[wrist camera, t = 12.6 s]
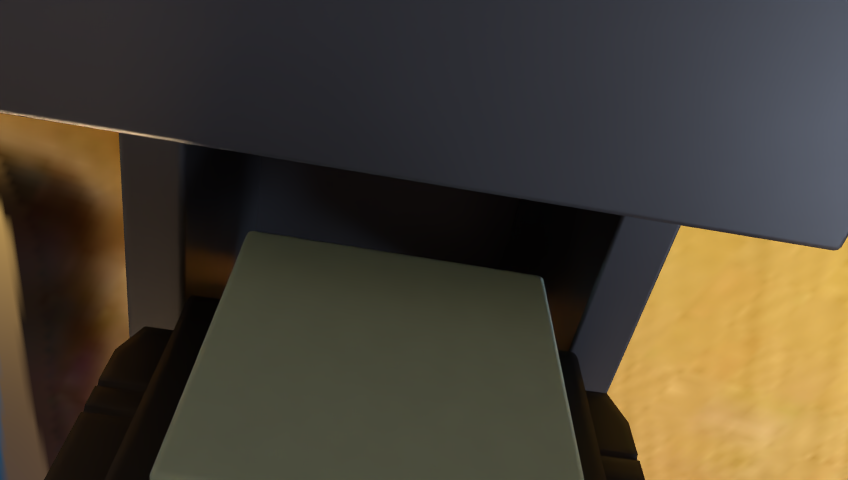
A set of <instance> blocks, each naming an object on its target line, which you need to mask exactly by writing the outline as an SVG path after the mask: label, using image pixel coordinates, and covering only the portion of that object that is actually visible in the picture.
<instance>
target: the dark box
mask: <svg viewBox="0 0 848 480" xmlns="http://www.w3.org/2000/svg"><path fill="white" fill-rule="evenodd" d="M0 113H5V114H11V115H17V116H23V117H29V118H35V119H41V120H47V121H53V122H59V123H65V124H71V125H77V126H83V127H89V128H95V129H101V130H107V131H114V132H120V133H126V134H132V135H138V136H144V137H150V138H156V139H162V140H168V141H174V142H180V143H186V144H192V145H198V146H204V147H210V148H217V149H223V150H229V151H235V152H241V153H247V154H253V155H259V156H265V157H271V158H277V159H283V160H289V161H295V162H301V163H307V164H313V165H319V166H326V167H332V168H338V169H344V170H350V171H356V172H362V173H368V174H374V175H380V176H386V177H392V178H398V179H404V180H410V181H416V182H422V183H428V184H435V185H441V186H447V187H453V188H459V189H465V190H471V191H477V192H483V193H489V194H495V195H501V196H507V197H513V198H519V199H525V200H531V201H537V202H544V203H550V204H556V205H562V206H568V207H574V208H580V209H586V210H592V211H598V212H604V213H610V214H616V215H622V216H628V217H634V218H640V219H646V220H653V221H659V222H665V223H671V224H677V225H683V226H689V227H695V228H701V229H707V230H713V231H719V232H725V233H731V234H737V235H743V236H749V237H755V238H762V239H768V240H774V241H780V242H786V243H792V244H798V245H804V246H810V247H816V248H822V249H828V250H838V249H839V248H841V247H842V245H843V243H844V242H845V240H846V238H847V237H848V0H0Z"/></svg>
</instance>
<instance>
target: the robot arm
mask: <svg viewBox="0 0 848 480" xmlns="http://www.w3.org/2000/svg"><path fill="white" fill-rule="evenodd" d="M219 302H220V299H216V298H209V297H202V296H196V295H191V296H190V297H189V299H188V300H187V302H186V304H185V306H184V309H183V311H182V313H181V315H180V317H179V319H178V322H177V324H176V326H175V328H174V330H169V329H162V328H155V327H148V326H144V327H143V328H142V329H141V330H139V331H138V332H137V333H135V334H134V335H133V336H132V337H130V338H129V339H128V340H127V341H125V342H124V343H123V344H122V345H120V346H119V347H118V348H117V349H115V351H114V353H113V354H112V356H111V358H110V360H109V362H108V364H107V365H106V367H105V369H104V371H103V373H102V375H101V376H100V378H99V382H98V385H97V386H95V387H94V389H93V391H92V393H91V395H90V397H89V398H88V400H87V402H86V404H85V408H84V411H83V412H81V413H80V415H79V417H78V419H77V420H76V422H75V424H74V426H73V428H72V430H71V431H70V433H69V435H68V437H67V439H66V441H65V442H64V444H63V446H62V448H61V450H60V452H59V453H58V455H57V457H56V459H55V461H54V463H53V464H52V466H51V468H50V470H49V472H48V474H47V475H46V477H45V479H44V480H150V473H151V470H152V468H153V465H154V463H155V460H156V458H157V455H158V453H159V450H160V448H161V445H162V443H163V440H164V438H165V435H166V433H167V431H168V428H169V426H170V423H171V421H172V418H173V416H174V413H175V411H176V408H177V406H178V403H179V401H180V398H181V396H182V393H183V391H184V388H185V386H186V383H187V381H188V379H189V376H190V374H191V371H192V369H193V366H194V364H195V361H196V359H197V356H198V354H199V351H200V349H201V346H202V344H203V341H204V339H205V336H206V334H207V331H208V329H209V327H210V324H211V322H212V319H213V317H214V314H215V312H216V309H217V307H218V304H219ZM558 354H559V359H560V364H561V369H562V374H563V379H564V384H565V388H566V393H567V398H568V403H569V408H570V413H571V418H572V423H573V428H574V432H575V437H576V442H577V447H578V452H579V457H580V462H581V467H582V471H583V476H584V480H645V478H644V475H643V471H642V468H641V464H640V461H637V455H638V454H637V451H636V447H635V444H634V440H633V437H632V433H631V430H630V426H629V423H628V421H627V420H626V419H625V417H624V416H623V415H622V413H621V412H620V411H619V409H618V408H617V407H616V405H615V404H614V403H613V401H612V400H611V399H610V397H609V396H608V395H607V393H601V392H595V391H588V390H585V387H584V383H583V378H582V374H581V370H580V366H579V361H578V358H577V356H576V354H575V353H574V352H569V351H562V350H558Z"/></svg>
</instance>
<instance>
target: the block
mask: <svg viewBox="0 0 848 480" xmlns="http://www.w3.org/2000/svg"><path fill="white" fill-rule="evenodd" d="M150 480H584V476H583V471H582V467H581V462H580V457H579V452H578V447H577V442H576V437H575V432H574V428H573V423H572V418H571V413H570V408H569V403H568V398H567V393H566V388H565V384H564V379H563V374H562V369H561V364H560V359H559V354H558V349H557V345H556V340H555V335H554V330H553V325H552V320H551V315H550V310H549V305H548V301H547V296H546V291H545V286H544V281H543V278H542V277H540V276H538V275H532V274H526V273H519V272H513V271H507V270H500V269H494V268H488V267H481V266H475V265H468V264H462V263H456V262H449V261H443V260H437V259H430V258H424V257H418V256H411V255H405V254H398V253H392V252H386V251H379V250H373V249H367V248H360V247H354V246H347V245H341V244H335V243H328V242H322V241H316V240H309V239H303V238H297V237H290V236H284V235H277V234H271V233H265V232H258V231H250V232H248V234H247V235H246V237H245V240H244V242H243V245H242V247H241V250H240V252H239V255H238V257H237V260H236V262H235V265H234V267H233V270H232V272H231V275H230V277H229V280H228V282H227V284H226V287H225V289H224V292H223V294H222V297H221V299H220V302H219V304H218V307H217V309H216V312H215V314H214V317H213V319H212V322H211V324H210V327H209V329H208V331H207V334H206V336H205V339H204V341H203V344H202V346H201V349H200V351H199V354H198V356H197V359H196V361H195V364H194V366H193V369H192V371H191V374H190V376H189V379H188V381H187V383H186V386H185V388H184V391H183V393H182V396H181V398H180V401H179V403H178V406H177V408H176V411H175V413H174V416H173V418H172V421H171V423H170V426H169V428H168V431H167V433H166V435H165V438H164V440H163V443H162V445H161V448H160V450H159V453H158V455H157V458H156V460H155V463H154V465H153V468H152V470H151V473H150Z"/></svg>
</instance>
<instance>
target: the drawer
mask: <svg viewBox="0 0 848 480" xmlns="http://www.w3.org/2000/svg"><path fill="white" fill-rule="evenodd" d="M119 145H120V164H121V183H122V202H123V221H124V240H125V259H126V278H127V297H128V316H129V335H130V337H132V336H133V335H134V334H135V333H137V332H138V331H139V330H141V329H142V328H143V327H144V326H148V327H155V328H162V329H169V330H174V328H175V326H176V324H177V322H178V319H179V317H180V315H181V313H182V311H183V309H184V306H185V304H186V302H187V300H188V299H189V297H190V296H191V295H196V296H202V297H209V298H216V299H221V297H222V294H223V292H224V289H225V287H226V284H227V282H228V280H229V277H230V275H231V272H232V270H233V267H234V265H235V262H236V260H237V257H238V255H239V252H240V250H241V247H242V245H243V242H244V240H245V237H246V235H247V234H248V232H250V231H258V232H265V233H271V234H277V235H284V236H290V237H297V238H303V239H309V240H316V241H322V242H328V243H335V244H341V245H347V246H354V247H360V248H367V249H373V250H379V251H386V252H392V253H398V254H405V255H411V256H418V257H424V258H430V259H437V260H443V261H449V262H456V263H462V264H468V265H475V266H481V267H488V268H494V269H500V270H507V271H513V272H519V273H526V274H532V275H538V276H540V277H542V278H543V281H544V286H545V291H546V296H547V301H548V305H549V310H550V315H551V320H552V325H553V330H554V335H555V340H556V345H557V349H558V350H562V351H569V352H574V353H575V354H576V356H577V358H578V361H579V366H580V370H581V374H582V378H583V383H584V387H585V390H588V391H595V392H601V393H607V391H608V389H609V387H610V385H611V382H612V380H613V378H614V375H615V373H616V371H617V369H618V366H619V364H620V362H621V360H622V357H623V355H624V353H625V350H626V348H627V346H628V344H629V341H630V339H631V337H632V335H633V332H634V330H635V328H636V326H637V323H638V321H639V319H640V316H641V314H642V312H643V310H644V307H645V305H646V303H647V301H648V298H649V296H650V294H651V291H652V289H653V287H654V285H655V282H656V280H657V278H658V276H659V273H660V271H661V269H662V267H663V264H664V262H665V260H666V257H667V255H668V253H669V251H670V248H671V246H672V244H673V242H674V239H675V237H676V235H677V232H678V230H679V228H680V226H681V225H677V224H671V223H665V222H659V221H653V220H646V219H640V218H634V217H628V216H622V215H616V214H610V213H604V212H598V211H592V210H586V209H580V208H574V207H568V206H562V205H556V204H550V203H544V202H537V201H531V200H525V199H519V198H513V197H507V196H501V195H495V194H489V193H483V192H477V191H471V190H465V189H459V188H453V187H447V186H441V185H435V184H428V183H422V182H416V181H410V180H404V179H398V178H392V177H386V176H380V175H374V174H368V173H362V172H356V171H350V170H344V169H338V168H332V167H326V166H319V165H313V164H307V163H301V162H295V161H289V160H283V159H277V158H271V157H265V156H259V155H253V154H247V153H241V152H235V151H229V150H223V149H217V148H210V147H204V146H198V145H192V144H186V143H180V142H174V141H168V140H162V139H156V138H150V137H144V136H138V135H132V134H126V133H120V132H119Z"/></svg>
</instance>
